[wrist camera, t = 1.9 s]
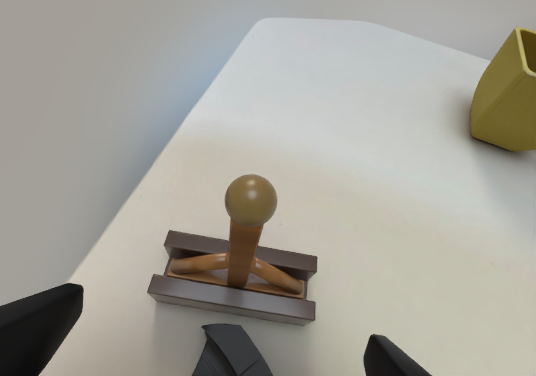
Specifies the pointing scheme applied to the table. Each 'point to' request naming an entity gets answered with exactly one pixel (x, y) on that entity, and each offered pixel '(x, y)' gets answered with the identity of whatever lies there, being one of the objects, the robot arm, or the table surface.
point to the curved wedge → (230, 353)
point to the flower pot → (508, 95)
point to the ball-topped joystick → (242, 246)
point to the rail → (231, 297)
